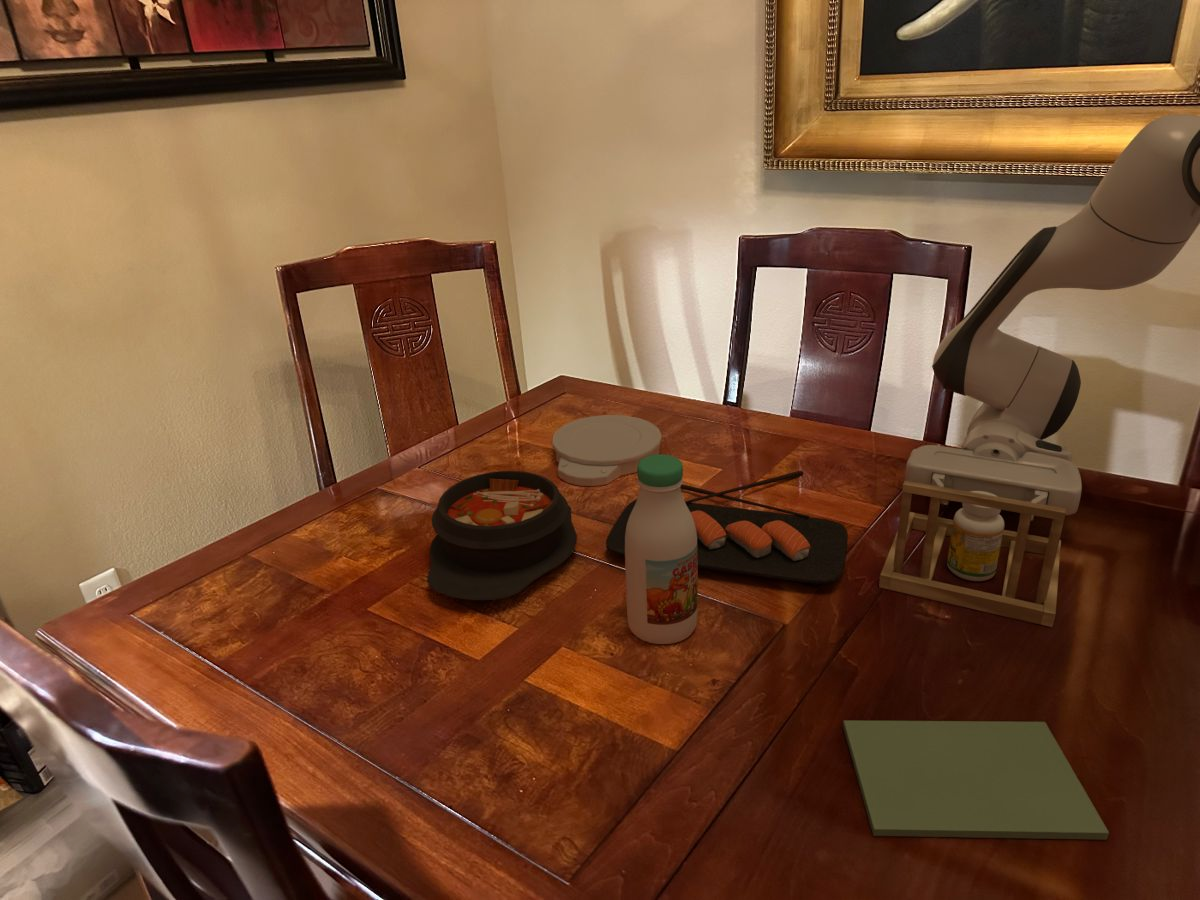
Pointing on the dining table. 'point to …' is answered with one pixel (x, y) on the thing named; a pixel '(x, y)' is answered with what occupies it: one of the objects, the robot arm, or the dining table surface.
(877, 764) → the mat
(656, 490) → the milk bottle
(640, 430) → the kitchen scale
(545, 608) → the dining table surface
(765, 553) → the sushi plate
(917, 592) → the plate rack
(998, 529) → the supplement bottle
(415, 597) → the dining table surface
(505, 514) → the casserole
